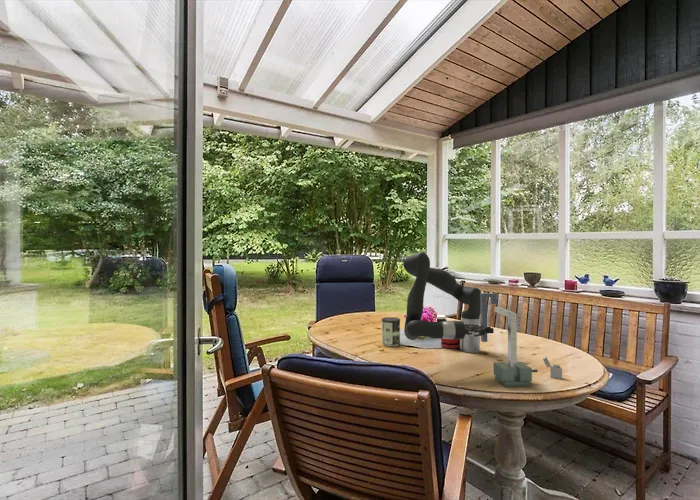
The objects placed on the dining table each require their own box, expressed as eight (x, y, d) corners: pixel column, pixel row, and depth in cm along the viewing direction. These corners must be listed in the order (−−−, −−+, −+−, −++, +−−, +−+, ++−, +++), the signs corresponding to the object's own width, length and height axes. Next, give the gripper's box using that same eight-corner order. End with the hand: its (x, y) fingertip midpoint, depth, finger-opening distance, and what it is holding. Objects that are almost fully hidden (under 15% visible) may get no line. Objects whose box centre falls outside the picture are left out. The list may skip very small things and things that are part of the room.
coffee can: (399, 341, 205) (399, 317, 205) (401, 346, 194) (401, 320, 194) (381, 341, 205) (381, 317, 205) (382, 346, 195) (382, 320, 194)
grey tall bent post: (503, 387, 138) (503, 315, 137) (483, 370, 156) (483, 307, 156) (543, 386, 138) (543, 314, 138) (519, 370, 156) (519, 306, 156)
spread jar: (437, 332, 227) (437, 313, 227) (454, 334, 220) (454, 315, 220) (429, 335, 218) (429, 316, 218) (446, 338, 211) (446, 319, 211)
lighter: (562, 377, 147) (562, 358, 147) (561, 379, 146) (561, 359, 146) (542, 374, 151) (542, 355, 151) (542, 375, 150) (542, 356, 150)
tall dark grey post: (482, 341, 151) (482, 294, 151) (480, 340, 153) (480, 293, 153) (497, 341, 151) (496, 293, 151) (495, 340, 153) (494, 293, 153)
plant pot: (460, 343, 200) (460, 322, 200) (465, 349, 187) (465, 327, 187) (437, 343, 201) (436, 321, 201) (440, 349, 188) (440, 327, 188)
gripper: (457, 324, 145) (499, 324, 145) (447, 318, 158) (485, 317, 159) (457, 343, 145) (499, 342, 145) (446, 334, 158) (485, 334, 159)
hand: (491, 329), depth 152 cm, fingers closed on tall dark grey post, 2 cm apart
